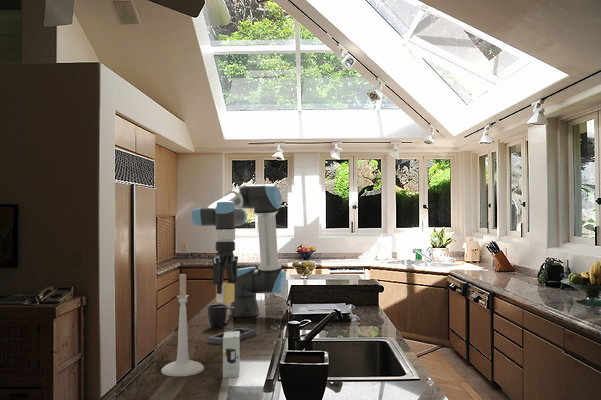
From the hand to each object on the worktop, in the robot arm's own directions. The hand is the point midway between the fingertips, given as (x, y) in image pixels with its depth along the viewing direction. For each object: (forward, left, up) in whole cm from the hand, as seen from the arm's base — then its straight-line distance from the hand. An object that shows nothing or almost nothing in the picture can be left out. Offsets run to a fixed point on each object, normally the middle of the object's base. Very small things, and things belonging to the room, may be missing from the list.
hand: (225, 301), depth 197 cm
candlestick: (+37, +13, -15) cm, 43 cm away
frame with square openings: (-5, 0, -15) cm, 16 cm away
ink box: (+33, +28, -15) cm, 46 cm away
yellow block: (0, 0, 0) cm, 0 cm away
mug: (-20, -17, -15) cm, 30 cm away
